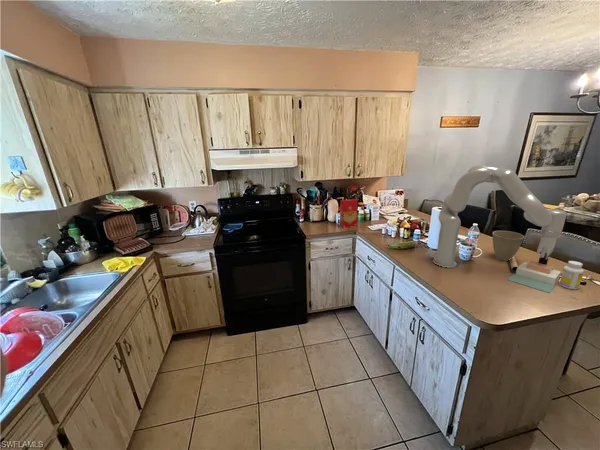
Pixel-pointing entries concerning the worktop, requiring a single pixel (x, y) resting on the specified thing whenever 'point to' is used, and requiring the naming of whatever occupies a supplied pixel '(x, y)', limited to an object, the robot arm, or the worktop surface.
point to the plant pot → (506, 244)
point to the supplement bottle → (571, 275)
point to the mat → (531, 283)
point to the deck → (538, 274)
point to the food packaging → (348, 213)
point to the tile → (540, 267)
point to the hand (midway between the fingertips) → (542, 265)
